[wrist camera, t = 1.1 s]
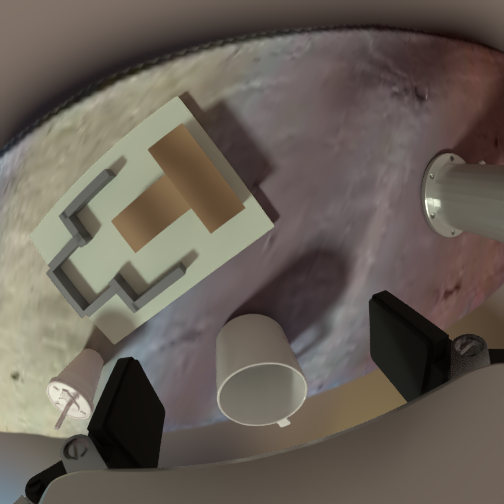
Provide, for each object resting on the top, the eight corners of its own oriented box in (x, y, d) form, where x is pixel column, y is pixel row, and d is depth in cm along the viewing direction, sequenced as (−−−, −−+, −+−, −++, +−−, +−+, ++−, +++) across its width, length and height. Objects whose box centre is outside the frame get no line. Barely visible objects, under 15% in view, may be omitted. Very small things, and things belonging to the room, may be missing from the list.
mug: (203, 327, 34) (199, 384, 23) (268, 297, 34) (290, 347, 23) (243, 390, 37) (253, 448, 27) (300, 366, 37) (325, 420, 27)
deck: (178, 98, 27) (174, 89, 24) (272, 224, 32) (278, 229, 29) (33, 234, 28) (20, 239, 25) (116, 340, 33) (109, 353, 30)
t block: (186, 130, 27) (182, 122, 23) (241, 204, 30) (245, 208, 26) (108, 195, 28) (93, 197, 24) (161, 265, 30) (154, 277, 27)
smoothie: (75, 370, 34) (39, 432, 20) (71, 335, 32) (25, 396, 19) (113, 380, 35) (85, 450, 21) (111, 346, 33) (74, 416, 20)
